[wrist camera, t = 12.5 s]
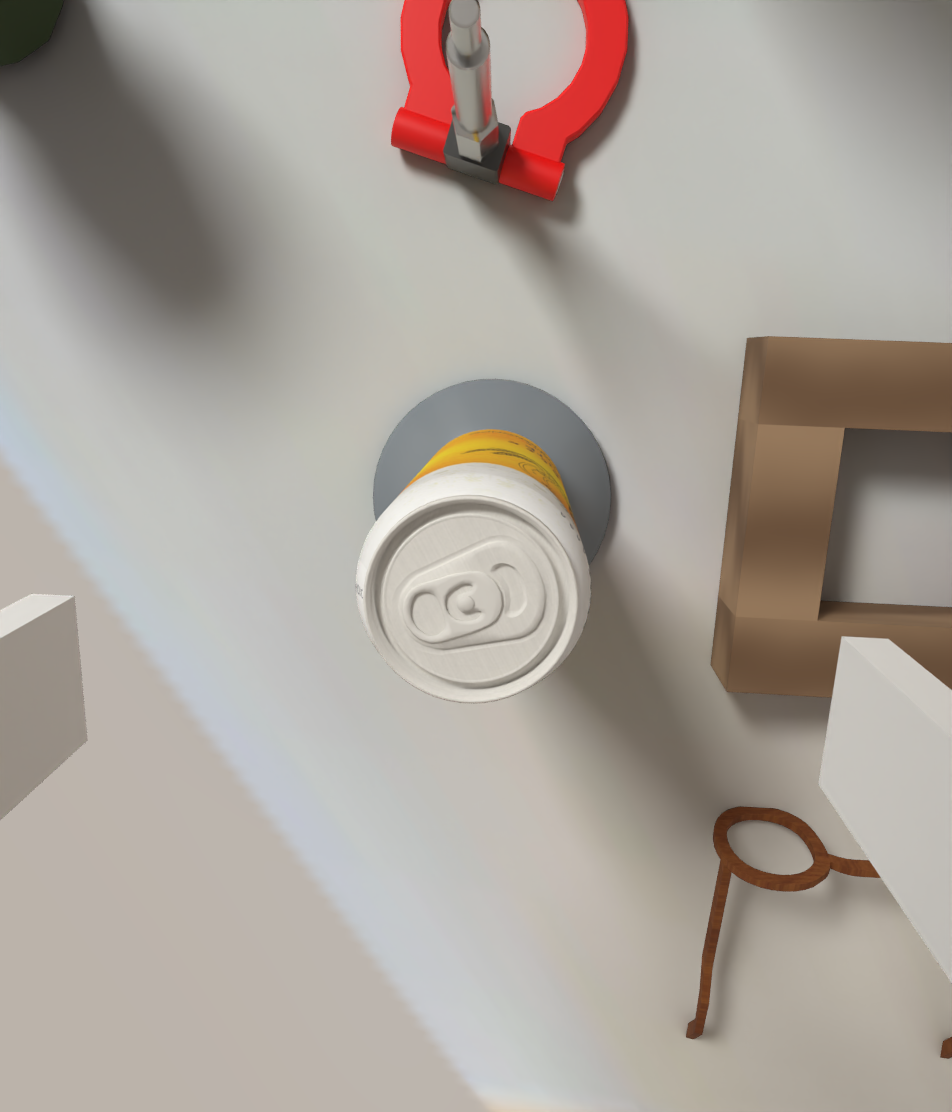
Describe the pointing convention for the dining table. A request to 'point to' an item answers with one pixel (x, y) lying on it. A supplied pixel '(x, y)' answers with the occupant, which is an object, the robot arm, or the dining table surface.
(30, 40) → the character mug
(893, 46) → the dining table surface
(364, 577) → the beer can
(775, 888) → the glasses
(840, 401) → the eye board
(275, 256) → the dining table surface
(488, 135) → the tow hook
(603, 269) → the dining table surface
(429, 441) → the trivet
